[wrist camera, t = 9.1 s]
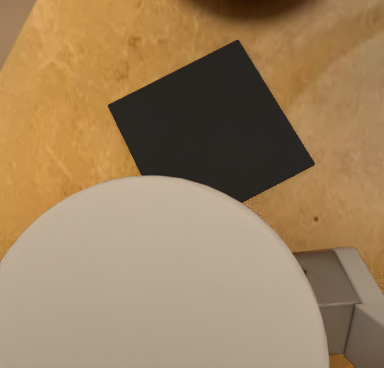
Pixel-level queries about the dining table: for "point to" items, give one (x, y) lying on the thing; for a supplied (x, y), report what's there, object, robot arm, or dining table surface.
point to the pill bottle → (156, 284)
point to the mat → (212, 127)
